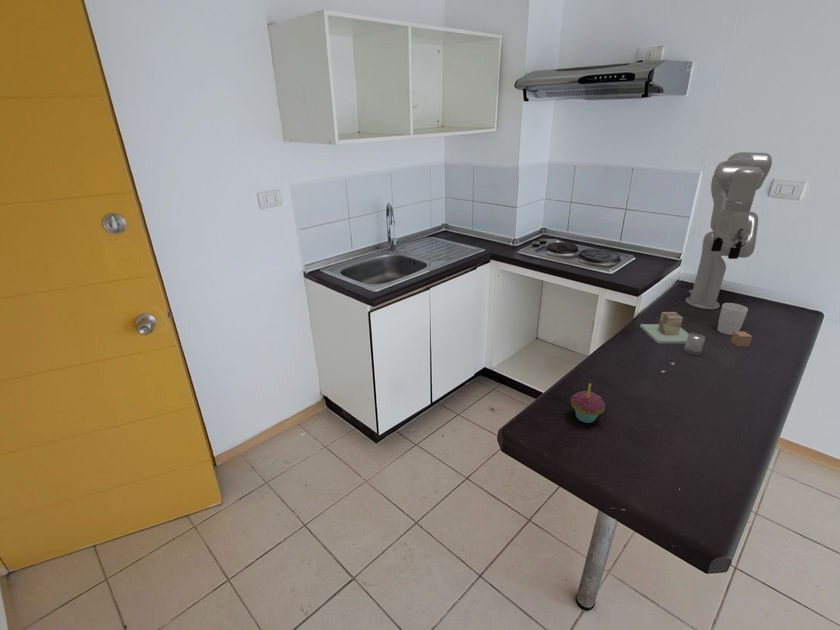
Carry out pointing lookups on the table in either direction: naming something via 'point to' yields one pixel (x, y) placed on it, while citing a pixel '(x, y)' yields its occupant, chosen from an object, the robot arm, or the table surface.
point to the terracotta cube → (741, 338)
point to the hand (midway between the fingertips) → (723, 254)
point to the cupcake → (587, 405)
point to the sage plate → (661, 338)
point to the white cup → (731, 318)
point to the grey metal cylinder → (694, 343)
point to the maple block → (670, 323)
